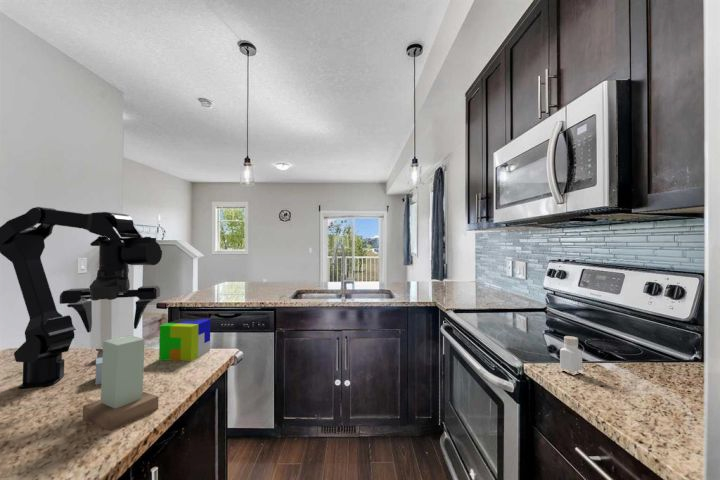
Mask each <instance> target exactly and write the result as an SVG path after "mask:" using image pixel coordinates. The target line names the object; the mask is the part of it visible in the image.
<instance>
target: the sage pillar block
mask: <svg viewBox="0 0 720 480" xmlns="http://www.w3.org/2000/svg"><path fill="white" fill-rule="evenodd" d="M145 340H146V339H145V338H143V337H139V336H134V335H130V334H129V335H125V336H121V337H116V338H112V339H107V340H103V341H102V349H103V359H102V382H101V384H100V385H101V388H100V389H101V390H100V400H101V403H103V404H105V405H108V406H110V407H112V408H115V409H116V408H119V407H121V406H124V405H126V404H129V403H131V402H134V401H137V400H139V399H142V393H143V392H144V391H143V389H144V365H145V345H146V344H145Z"/></svg>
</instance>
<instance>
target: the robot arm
mask: <svg viewBox="0 0 720 480" xmlns="http://www.w3.org/2000/svg"><path fill="white" fill-rule="evenodd" d="M37 224H39V225H38V226H37V227H36V225H37ZM55 226H60V227H69V228H76V229H82V230H86V231H88V232H89V233H91V234H95V235H98V237H97V238H96V239H94V240H93V241H92V242H90V246H91V247H99V248H98V249H99V250H98V251H99V252H98V270H97V273H96V277H95V279H94V280H93V281H92V283H91V284H90V285H89V287H86V288H85V287H83V288H70V289H64V290H63V291H62V292H61V293H60V295H59V304H60V305H62V304H65V305H66V306H67V308H72V309H74V311H76V312H77V314H78V315H79V317H80V319H81V322H82V324H83V326H84V328H85V330H86V332H87V333H91V332H92V327H93V320H92V319H93V313H92V312H93V311H92V310H93V309H92V308H93V307H92V304H93V303H92V301H99V300H109V301H110V300H111V301H112V300H116V299H119V298H121V299H122V298H138V300H136V301H135V310H134V311H135V313H134V319H133V320H134V321H133V329H134V330H137V328H138V327H139V326H138V325H140V321H141V318H142V316H143V314H144V311H145V309H146V308H147V306H148V305H149V304H150V303H152V302H153V301H154V300H156V299H158V298H160V296H161V288H160V286H158V285H142V286H139V287H137V289H130V287H131V286H130V278H129V272H130V271H129V270H130V268H129V265H130V266H156V265H158V264H159V263H160V262H161V259H162V258H163V251H162V248H161V245H160V244H159V243H158V242H157V237H156V236H144V237H143V236H142V234H141V233H140V231H139V230H138V228H137V227H136V225H135V223H134V221H133V218H132V216H130V215H128V214H125V213H116V212H110V211H108V212H107V211H98V212H91V213H81V212H75V211H65V210H58V209H55V208H50V207H41V206H36V207H32V208H30V209H28V211H27V212H25V213H23V214H21V215H19V216H16V217H14V218H12V219H11V218H10V219H9V220H7V221H6V222H5V223H3V224H2V225H1V226H0V254H1V255H2V256H3V257H5V258H6V259H7V260H8V261H10V263H12V266H13V269H14V272H15V275H16V278H17V281H18V284H19V288H20V291H21V294H22V297H23V300H24V304H25V307H26V311H27V314H28V318H29V321H28V323H27V326H26V328H25V331H24V337H25V341H24V342H23V343H22V344H21V345H20V346H19V348H17V349H16V350H15V351H14V352H13V356H14V359H15V362H16V363H22V383H21V384H20V385H18V389H26V388H34V387H35V388H36V387H42V386H51V385H55V384H56V383H57V382H59V380H61V379H62V378H63V377H64V376H65V359H64V358H63V354H64V353H67V352H69V349H70V347H71V344H72V342H73V340H74V339H75V331H76V328H75V326H74V324H73V320H72V317H71V315H70V314H67V315H63V314H62V313H60V312H58V309H57V306H56V303H55V300H54V296H53V294H52V290H51V288H50V284H49V281H48V277H47V275H46V272H45V269H44V264H43V262H42V259H41V257H42V254H43V252H44V250H45V247H46V245H45V240H46V239H47V238H48V237H49V236H51V235H52V233H53V231H54V230H53V229H54V227H55Z"/></svg>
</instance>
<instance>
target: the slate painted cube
mask: <svg viewBox="0 0 720 480" xmlns="http://www.w3.org/2000/svg"><path fill="white" fill-rule="evenodd" d="M102 359H103V357H102V358H97V357H96V359H95V385H101V382H102Z"/></svg>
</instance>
